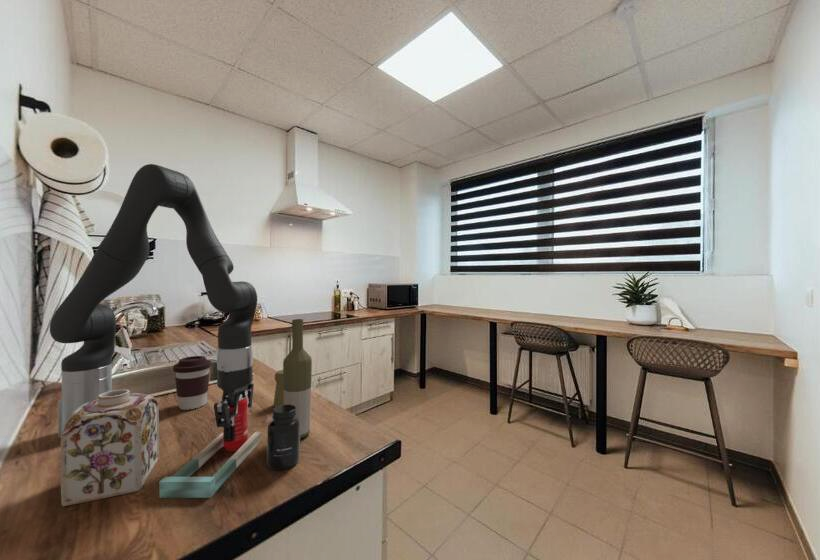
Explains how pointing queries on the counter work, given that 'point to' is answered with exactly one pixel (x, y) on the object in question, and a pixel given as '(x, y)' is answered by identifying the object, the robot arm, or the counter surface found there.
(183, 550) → the counter surface
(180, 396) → the coffee cup
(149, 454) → the decorative jar
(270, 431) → the supplement bottle
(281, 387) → the cork
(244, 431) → the beverage can
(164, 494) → the beam
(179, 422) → the counter surface
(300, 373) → the bottle
